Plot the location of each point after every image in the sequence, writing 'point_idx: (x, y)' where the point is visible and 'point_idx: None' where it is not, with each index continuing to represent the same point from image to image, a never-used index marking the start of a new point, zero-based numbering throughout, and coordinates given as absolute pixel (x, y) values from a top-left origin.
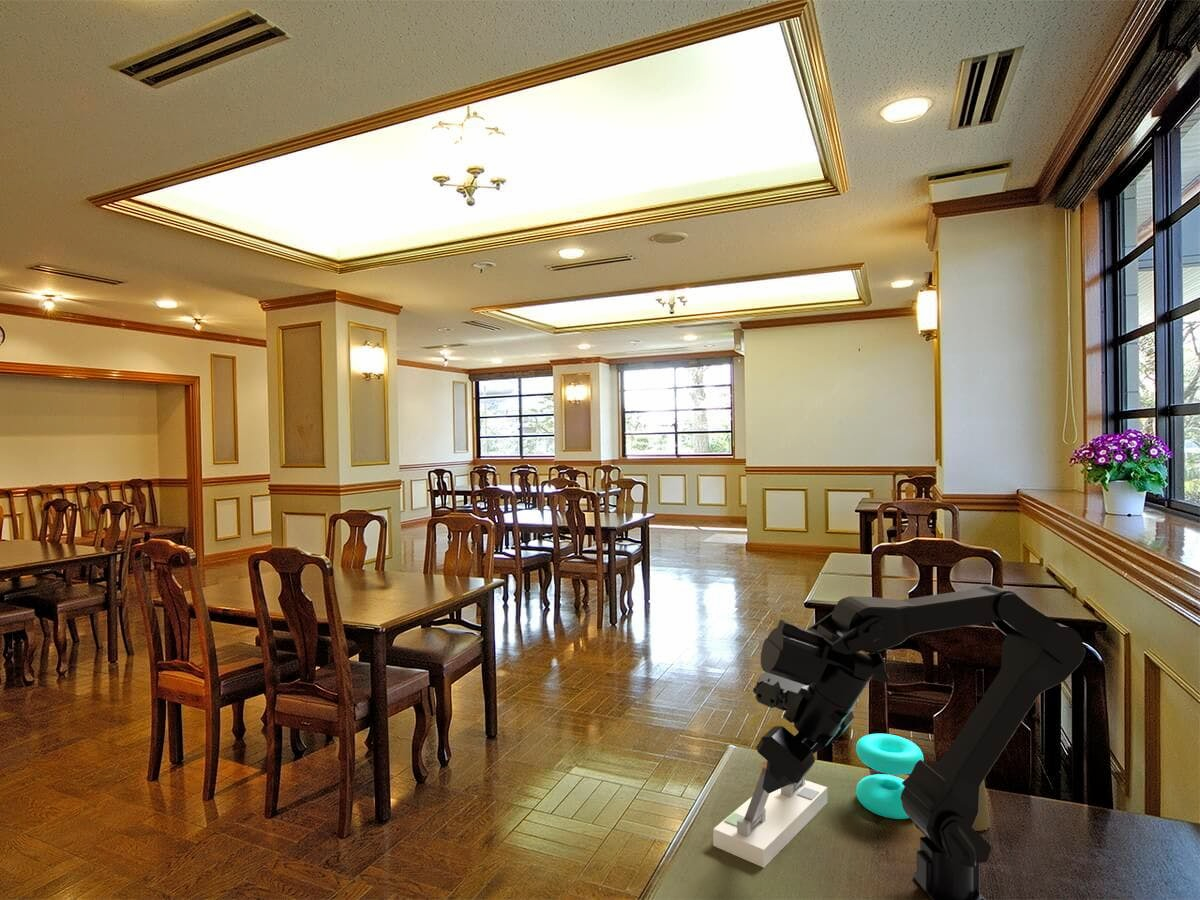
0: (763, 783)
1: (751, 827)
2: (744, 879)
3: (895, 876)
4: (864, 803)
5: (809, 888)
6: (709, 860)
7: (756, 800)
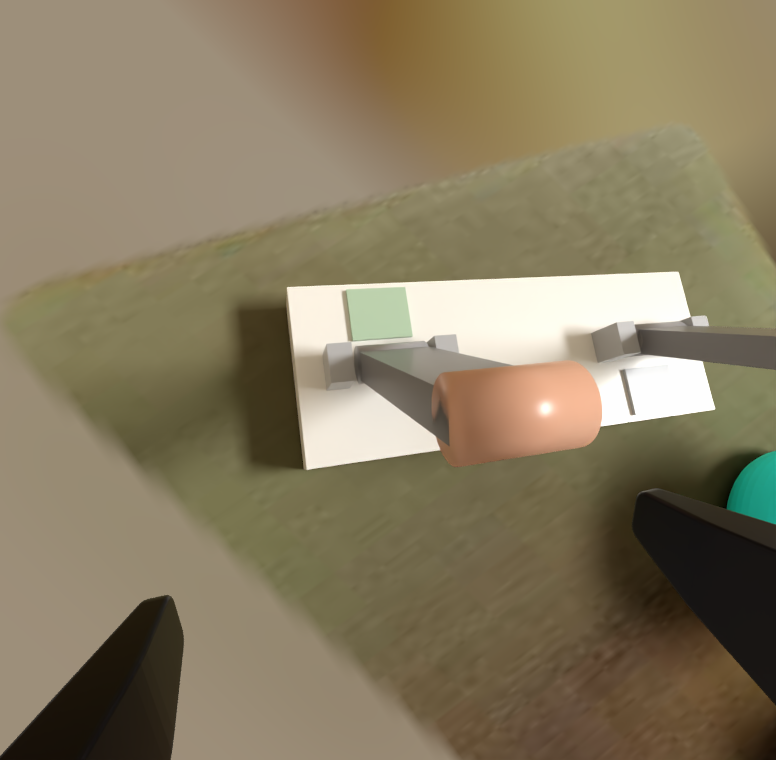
0: (100, 648)
1: (359, 383)
2: (214, 462)
3: (543, 746)
4: (736, 507)
5: (317, 618)
6: (218, 337)
7: (384, 384)
